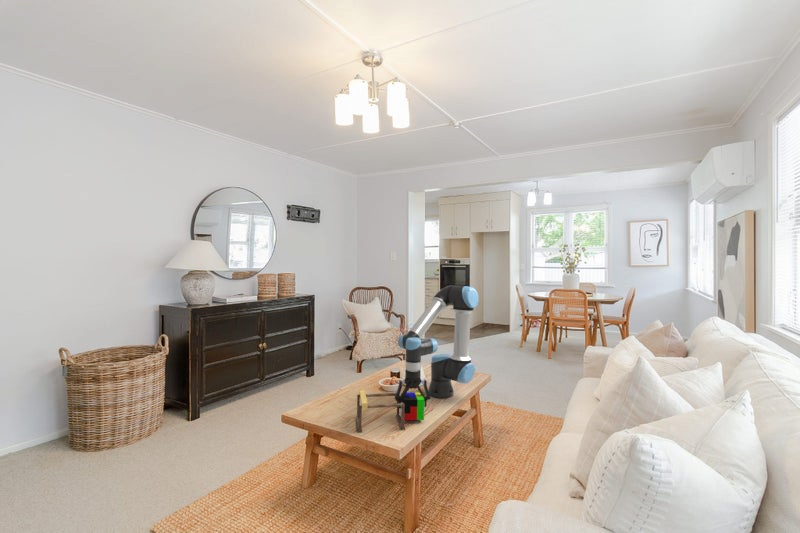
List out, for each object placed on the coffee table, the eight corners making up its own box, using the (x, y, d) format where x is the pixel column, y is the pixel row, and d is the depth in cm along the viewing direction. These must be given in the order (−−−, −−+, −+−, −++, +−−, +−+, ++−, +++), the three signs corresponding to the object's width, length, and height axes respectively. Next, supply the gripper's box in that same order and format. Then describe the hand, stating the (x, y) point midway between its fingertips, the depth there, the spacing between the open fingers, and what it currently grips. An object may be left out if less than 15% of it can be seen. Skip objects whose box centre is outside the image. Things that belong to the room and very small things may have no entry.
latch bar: (364, 395, 192) (364, 390, 191) (367, 409, 174) (367, 403, 174) (359, 395, 191) (359, 390, 191) (362, 409, 174) (362, 403, 174)
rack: (399, 416, 194) (400, 392, 193) (405, 429, 179) (405, 404, 178) (356, 418, 190) (356, 394, 190) (357, 432, 175) (358, 406, 175)
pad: (417, 416, 194) (417, 415, 194) (420, 422, 187) (420, 421, 187) (403, 416, 193) (404, 415, 193) (406, 422, 186) (406, 421, 186)
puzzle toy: (401, 412, 194) (401, 392, 194) (420, 411, 196) (420, 392, 195) (403, 420, 185) (403, 399, 184) (423, 419, 186) (424, 399, 185)
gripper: (433, 366, 195) (432, 409, 196) (389, 368, 191) (388, 411, 192) (437, 370, 188) (436, 415, 188) (391, 372, 184) (390, 418, 184)
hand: (412, 413), depth 190 cm, fingers closed on puzzle toy, 10 cm apart
